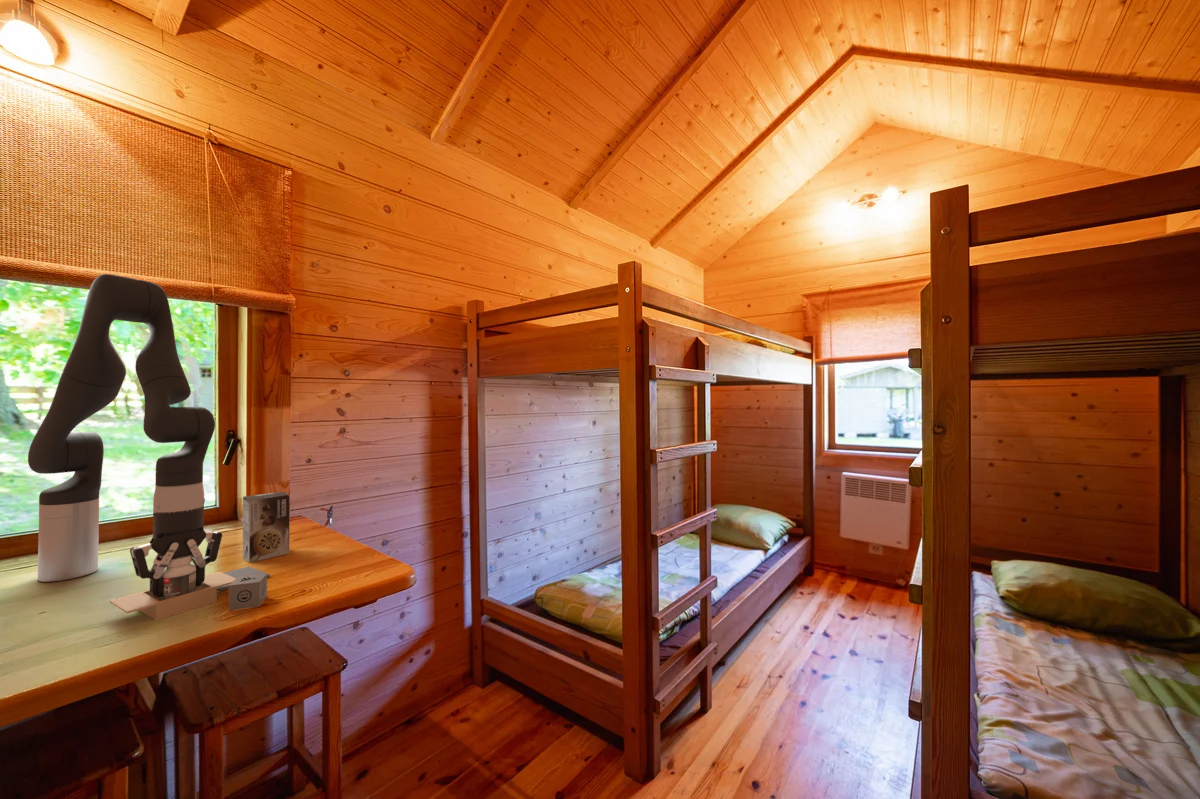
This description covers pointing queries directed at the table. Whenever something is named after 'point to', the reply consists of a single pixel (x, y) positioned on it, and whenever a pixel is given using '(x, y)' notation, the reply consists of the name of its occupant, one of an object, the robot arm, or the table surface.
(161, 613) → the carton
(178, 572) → the pill bottle
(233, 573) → the mat
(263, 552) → the coffee box
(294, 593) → the table surface
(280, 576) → the table surface
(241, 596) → the dice cube
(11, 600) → the table surface
